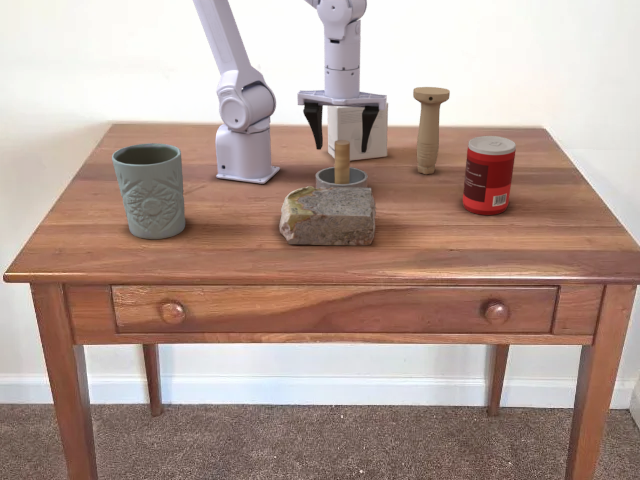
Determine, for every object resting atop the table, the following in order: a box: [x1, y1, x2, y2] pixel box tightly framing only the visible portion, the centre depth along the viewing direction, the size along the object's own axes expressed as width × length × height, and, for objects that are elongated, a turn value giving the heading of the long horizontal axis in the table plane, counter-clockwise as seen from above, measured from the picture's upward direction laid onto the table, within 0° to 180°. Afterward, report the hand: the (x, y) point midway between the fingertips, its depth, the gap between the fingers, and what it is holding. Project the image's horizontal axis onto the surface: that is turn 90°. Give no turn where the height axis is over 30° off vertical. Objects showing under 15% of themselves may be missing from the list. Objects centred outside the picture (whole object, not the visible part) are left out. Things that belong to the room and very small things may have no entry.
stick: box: [334, 140, 351, 184], centre depth 128 cm, size 3×3×8 cm
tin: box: [315, 166, 369, 189], centre depth 130 cm, size 9×9×3 cm
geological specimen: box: [278, 185, 377, 246], centre depth 115 cm, size 11×6×15 cm
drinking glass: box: [111, 142, 186, 240], centre depth 114 cm, size 10×10×12 cm
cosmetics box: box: [326, 102, 389, 162], centre depth 144 cm, size 10×6×10 cm, turn 111°
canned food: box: [462, 135, 517, 216], centre depth 123 cm, size 8×8×11 cm
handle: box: [412, 86, 451, 175], centre depth 135 cm, size 5×6×15 cm
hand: (341, 149), depth 126 cm, fingers open, 7 cm apart
